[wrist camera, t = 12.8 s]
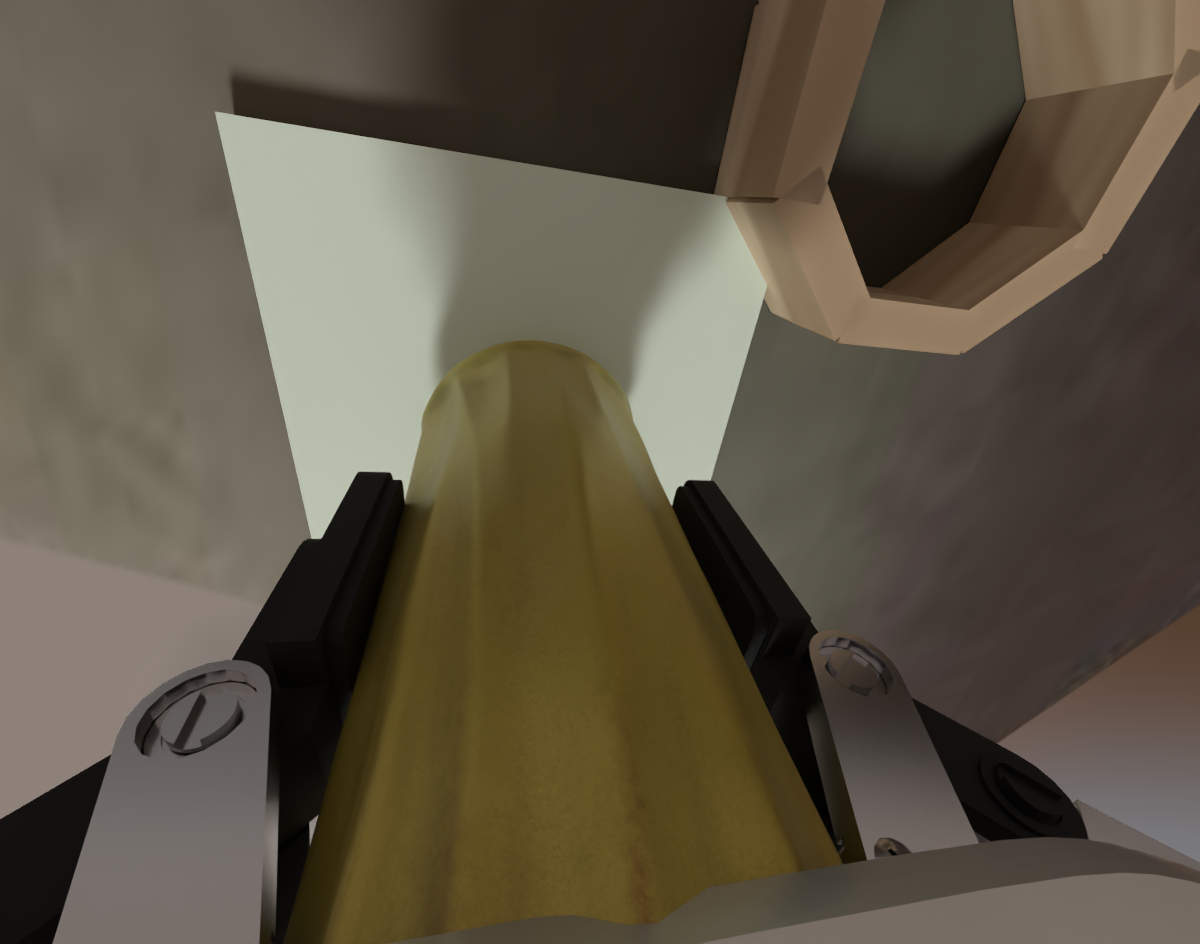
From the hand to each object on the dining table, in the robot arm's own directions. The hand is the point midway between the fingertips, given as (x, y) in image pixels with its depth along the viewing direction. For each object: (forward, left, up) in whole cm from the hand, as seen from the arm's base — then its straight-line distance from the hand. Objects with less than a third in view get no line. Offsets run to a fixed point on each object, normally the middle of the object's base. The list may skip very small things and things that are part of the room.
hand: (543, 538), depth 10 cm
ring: (-10, -9, -7) cm, 15 cm away
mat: (0, 0, -7) cm, 7 cm away
